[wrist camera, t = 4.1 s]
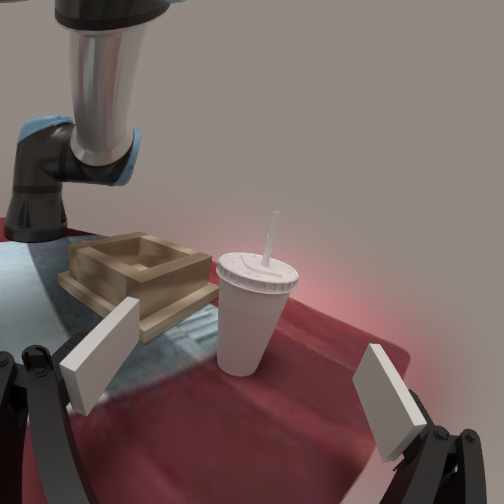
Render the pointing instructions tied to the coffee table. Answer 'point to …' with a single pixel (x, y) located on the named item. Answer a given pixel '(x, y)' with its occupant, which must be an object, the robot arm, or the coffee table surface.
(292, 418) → the coffee table surface
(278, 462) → the coffee table surface
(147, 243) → the wooden box
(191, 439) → the coffee table surface
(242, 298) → the smoothie
